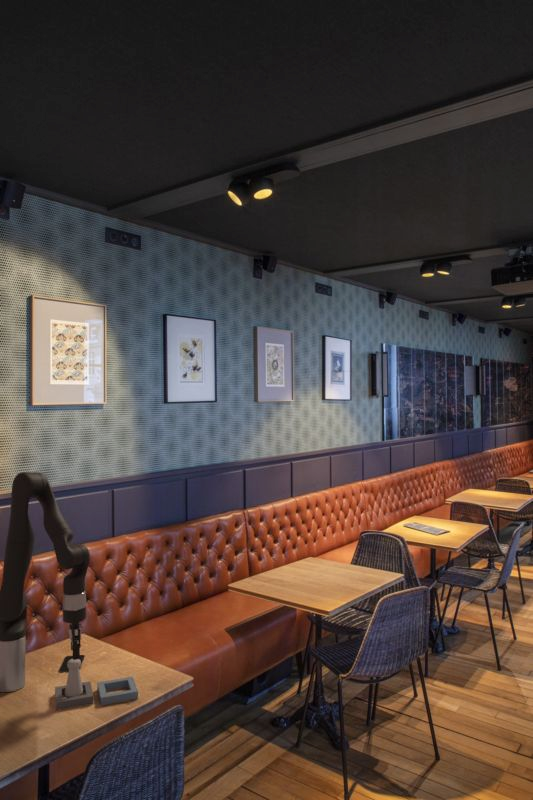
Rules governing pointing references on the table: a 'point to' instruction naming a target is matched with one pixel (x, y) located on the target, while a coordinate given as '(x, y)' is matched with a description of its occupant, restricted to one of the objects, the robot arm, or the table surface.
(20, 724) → the table surface
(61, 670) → the smartphone
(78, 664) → the salt shaker
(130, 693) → the collar
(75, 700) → the collar
